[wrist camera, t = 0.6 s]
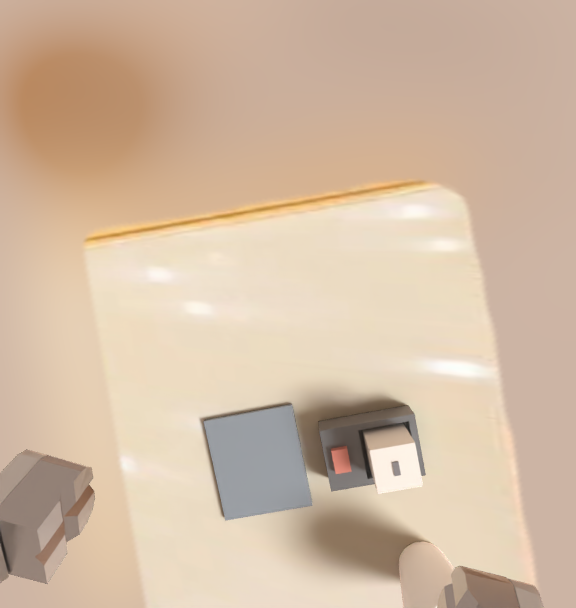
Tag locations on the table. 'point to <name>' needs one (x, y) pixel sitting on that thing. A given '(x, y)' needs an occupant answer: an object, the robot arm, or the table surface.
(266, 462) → the rubber mat
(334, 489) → the power strip
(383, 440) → the block
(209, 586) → the table surface
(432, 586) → the foam cup
